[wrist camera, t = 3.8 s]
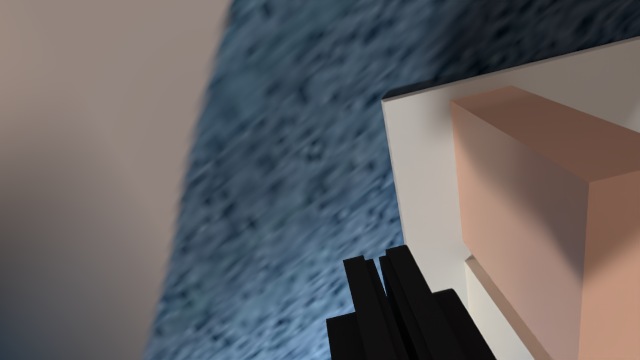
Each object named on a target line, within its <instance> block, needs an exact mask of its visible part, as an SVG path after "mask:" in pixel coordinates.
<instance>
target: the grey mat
mask: <svg viewBox="0 0 640 360" xmlns="http://www.w3.org/2000/svg"><path fill="white" fill-rule="evenodd" d="M511 85H512V86H515V87H517V88H520V89H523V90H525V91H528V92H531V93H533V94H536V95H539V96H542V97H544V98H547V99H550V100H552V101H555V102H558V103H560V104H563V105H566V106H569V107H571V108H574V109H577V110H579V111H582V112H585V113H587V114H590V115H593V116H596V117H598V118H601V119H604V120H606V121H609V122H612V123H614V124H617V125H620V126H623V127H625V128H628V129H631V130H633V131H636V132H639V133H640V36H638V37H634V38H630V39H626V40H622V41H618V42H613V43H609V44H605V45H601V46H597V47H593V48H589V49H585V50H581V51H577V52H573V53H569V54H565V55H561V56H557V57H553V58H549V59H545V60H541V61H537V62H532V63H528V64H524V65H520V66H516V67H512V68H508V69H504V70H500V71H496V72H492V73H488V74H484V75H480V76H476V77H472V78H468V79H464V80H460V81H456V82H451V83H447V84H443V85H439V86H435V87H431V88H427V89H423V90H419V91H415V92H411V93H407V94H403V95H399V96H395V97H391V98H387V99H383V100H381V102H382V109H383V115H384V121H385V127H386V133H387V139H388V145H389V151H390V157H391V164H392V170H393V176H394V182H395V188H396V194H397V200H398V206H399V212H400V219H401V225H402V231H403V237H404V243H405V245H407V246H408V248H409V249H410V251H411V253H412V255H413V257H414V259H415V261H416V263H417V265H418V267H419V269H420V271H421V272H422V274H423V276H424V278H425V280H426V282H427V284H428V286H429V288H430V290H431V292H432V293H433V292H438V291H442V290H446V289H450V288H452V289H454V290H455V292H456V293H457V294H458V296H459V298H460V299H461V301H462V303H463V304H464V306H465V308H466V309H467V311H468V313H469V305H468V294H467V283H466V272H465V261H466V260H470V259H474V258H475V257H474V255H473V254H472V253H471V252H470V250H469V249H468V248H467V246H466V245H465V244H464V242H463V238H462V227H461V216H460V205H459V194H458V183H457V172H456V161H455V150H454V139H453V128H452V117H451V106H450V100H454V99H458V98H462V97H466V96H470V95H474V94H478V93H482V92H486V91H490V90H494V89H498V88H503V87H507V86H511Z"/></svg>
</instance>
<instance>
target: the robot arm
mask: <svg viewBox="0 0 640 360" xmlns="http://www.w3.org/2000/svg"><path fill="white" fill-rule="evenodd" d="M379 261H380V266H381V271H382V275H383V280H384V285H385V290H386V294H385V291H384V288H383V285H382V283H381V280H380V277H379V274H378V271H377V269H376V266H375V263H374V260H373V259H369V260H365V259H364V256H363V255H362V256H358V257H354V258H350V259H346V260H343V263H344V267H345V271H346V275H347V279H348V283H349V287H350V291H351V295H352V300H353V304H354V308H355V312H353V313H349V314H345V315H341V316H337V317H333V318H329V319H326V324H327V331H328V338H329V345H330V352H331V359H332V360H497V359H496V357H495V356H494V354H493V352H492V351H491V349H490V347H489V346H488V344H487V342H486V341H485V339H484V337H483V336H482V334H481V333H480V331H479V329H478V328H477V326H476V324H475V323H474V321H473V319H472V318H471V316H470V314H469V313H468V311H467V309H466V308H465V306H464V304H463V303H462V301H461V299H460V298H459V296H458V294H457V293H456V292H455V290H454V289H452V288H450V289H446V290H442V291H438V292H433V293H432V292H431V290H430V288H429V286H428V284H427V282H426V280H425V278H424V276H423V274H422V272H421V271H420V269H419V267H418V265H417V263H416V261H415V259H414V257H413V255H412V253H411V251H410V249H409V248H408V246H407V245H402V246H398V247H394V248H390V249H386V255H385V256H381V257H379ZM386 295H387V296H386Z"/></svg>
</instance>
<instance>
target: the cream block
mask: <svg viewBox="0 0 640 360" xmlns="http://www.w3.org/2000/svg"><path fill="white" fill-rule="evenodd" d="M465 272H466V283H467V294H468V305H469V314H470V316H471V318H472V319H473V321H474V323H475V324H476V326H477V328H478V329H479V331H480V333H481V334H482V336H483V337H484V339H485V341H486V342H487V344H488V346H489V347H490V349H491V351H492V352H493V354H494V356H495V357H496V359H497V360H553V359H552V358H551V357H550V355H549V354H548V353H547V352H546V350H545V349H544V348H543V346H542V345H541V344H540V342H539V341H538V340H537V338H536V337H535V336H534V334H533V333H532V332H531V330H530V329H529V328H528V327H527V325H526V324H525V323H524V321H523V320H522V319H521V317H520V316H519V315H518V313H517V312H516V311H515V309H514V308H513V307H512V305H511V304H510V303H509V302H508V300H507V299H506V298H505V296H504V295H503V294H502V292H501V291H500V290H499V288H498V287H497V286H496V284H495V283H494V282H493V280H492V279H491V278H490V277H489V275H488V274H487V273H486V271H485V270H484V269H483V267H482V266H481V265H480V263H479V262H478V261H477V259H476V258H474V259H470V260H466V261H465Z"/></svg>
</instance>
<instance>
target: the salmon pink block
mask: <svg viewBox="0 0 640 360" xmlns="http://www.w3.org/2000/svg"><path fill="white" fill-rule="evenodd" d="M450 106H451V117H452V128H453V139H454V150H455V161H456V172H457V183H458V194H459V205H460V216H461V227H462V238H463V242H464V244H465V245H466V246H467V248H468V249H469V250H470V252H471V253H472V254H473V255H474V257H475V258H476V259H477V261H478V262H479V263H480V265H481V266H482V267H483V269H484V270H485V271H486V273H487V274H488V275H489V277H490V278H491V279H492V280H493V282H494V283H495V284H496V286H497V287H498V288H499V290H500V291H501V292H502V294H503V295H504V296H505V298H506V299H507V300H508V302H509V303H510V304H511V305H512V307H513V308H514V309H515V311H516V312H517V313H518V315H519V316H520V317H521V319H522V320H523V321H524V323H525V324H526V325H527V327H528V328H529V329H530V330H531V332H532V333H533V334H534V336H535V337H536V338H537V340H538V341H539V342H540V344H541V345H542V346H543V348H544V349H545V350H546V352H547V353H548V354H549V355H550V357H551V358H552V359H553V360H640V133H639V132H636V131H633V130H631V129H628V128H625V127H623V126H620V125H617V124H614V123H612V122H609V121H606V120H604V119H601V118H598V117H596V116H593V115H590V114H587V113H585V112H582V111H579V110H577V109H574V108H571V107H569V106H566V105H563V104H560V103H558V102H555V101H552V100H550V99H547V98H544V97H542V96H539V95H536V94H533V93H531V92H528V91H525V90H523V89H520V88H517V87H515V86H512V85H511V86H507V87H503V88H498V89H494V90H490V91H486V92H482V93H478V94H474V95H470V96H466V97H462V98H458V99H454V100H450Z"/></svg>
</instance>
